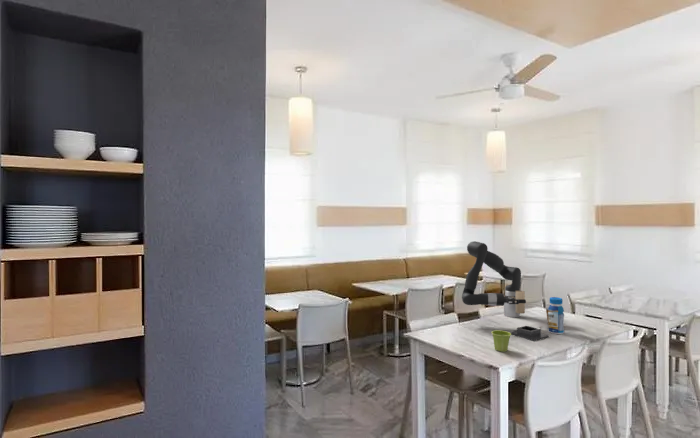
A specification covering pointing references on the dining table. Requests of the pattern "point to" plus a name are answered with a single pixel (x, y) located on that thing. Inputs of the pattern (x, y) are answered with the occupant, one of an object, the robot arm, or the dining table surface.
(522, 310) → the tan wooden block
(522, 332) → the black socket base
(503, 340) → the plant pot
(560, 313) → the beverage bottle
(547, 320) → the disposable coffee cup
